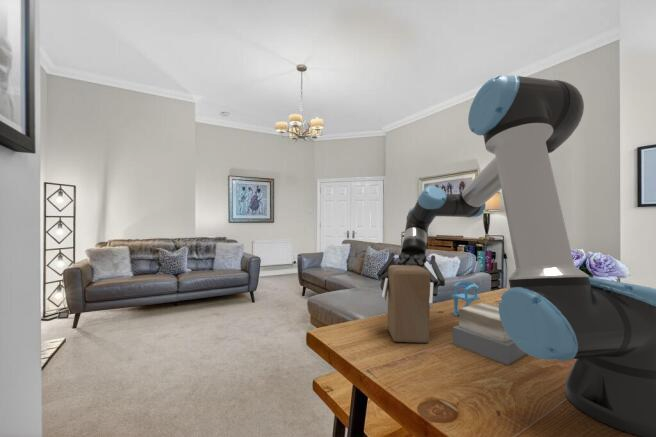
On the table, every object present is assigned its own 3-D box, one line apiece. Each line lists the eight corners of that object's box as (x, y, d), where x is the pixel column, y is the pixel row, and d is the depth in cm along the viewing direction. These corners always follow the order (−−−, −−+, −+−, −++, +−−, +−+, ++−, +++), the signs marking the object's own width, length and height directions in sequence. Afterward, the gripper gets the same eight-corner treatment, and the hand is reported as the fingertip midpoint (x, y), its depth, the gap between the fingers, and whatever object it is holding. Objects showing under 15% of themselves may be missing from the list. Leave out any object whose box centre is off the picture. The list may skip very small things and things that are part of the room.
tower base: (507, 367, 68) (508, 345, 68) (452, 345, 79) (452, 327, 79) (531, 352, 76) (532, 333, 76) (478, 334, 88) (478, 318, 88)
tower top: (503, 342, 70) (503, 321, 70) (458, 326, 80) (459, 308, 80) (528, 333, 76) (528, 314, 76) (484, 319, 86) (484, 302, 86)
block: (430, 344, 79) (431, 270, 79) (393, 343, 79) (394, 270, 79) (419, 330, 89) (420, 265, 89) (386, 329, 89) (387, 264, 89)
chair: (448, 313, 106) (448, 280, 106) (464, 310, 109) (465, 279, 109) (465, 320, 99) (466, 285, 99) (483, 317, 102) (483, 283, 102)
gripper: (454, 254, 93) (453, 315, 79) (379, 249, 103) (367, 303, 89) (454, 238, 88) (453, 300, 74) (376, 235, 98) (362, 289, 84)
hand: (406, 302), depth 82 cm, fingers closed on block, 12 cm apart
